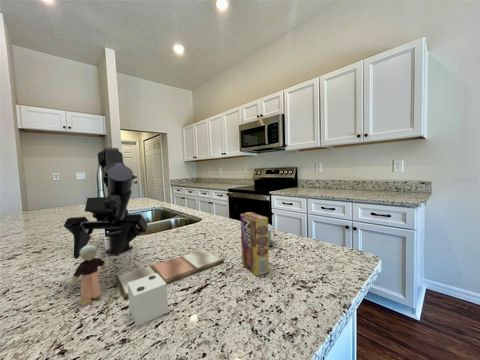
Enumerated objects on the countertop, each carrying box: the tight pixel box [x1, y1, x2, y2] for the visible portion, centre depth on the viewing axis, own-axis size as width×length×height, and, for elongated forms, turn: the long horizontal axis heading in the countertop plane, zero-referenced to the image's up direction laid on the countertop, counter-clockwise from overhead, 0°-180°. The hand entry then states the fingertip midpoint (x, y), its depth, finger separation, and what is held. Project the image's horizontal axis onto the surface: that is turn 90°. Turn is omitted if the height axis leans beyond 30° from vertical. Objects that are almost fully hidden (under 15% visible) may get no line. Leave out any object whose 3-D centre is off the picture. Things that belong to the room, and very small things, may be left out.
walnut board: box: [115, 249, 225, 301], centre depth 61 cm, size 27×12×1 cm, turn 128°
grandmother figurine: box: [70, 244, 108, 307], centre depth 49 cm, size 8×4×13 cm, turn 168°
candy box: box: [240, 211, 270, 277], centre depth 60 cm, size 9×4×15 cm, turn 26°
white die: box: [127, 273, 169, 327], centre depth 44 cm, size 6×6×6 cm
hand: (95, 256), depth 51 cm, fingers open, 9 cm apart
